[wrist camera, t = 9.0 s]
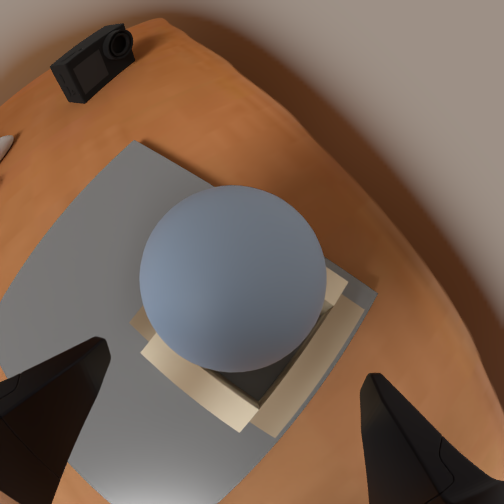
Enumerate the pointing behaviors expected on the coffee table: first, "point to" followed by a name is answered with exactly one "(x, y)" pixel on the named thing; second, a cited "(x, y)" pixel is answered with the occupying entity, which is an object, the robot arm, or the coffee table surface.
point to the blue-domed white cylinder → (233, 278)
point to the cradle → (287, 383)
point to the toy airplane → (5, 145)
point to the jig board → (133, 343)
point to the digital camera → (94, 62)
